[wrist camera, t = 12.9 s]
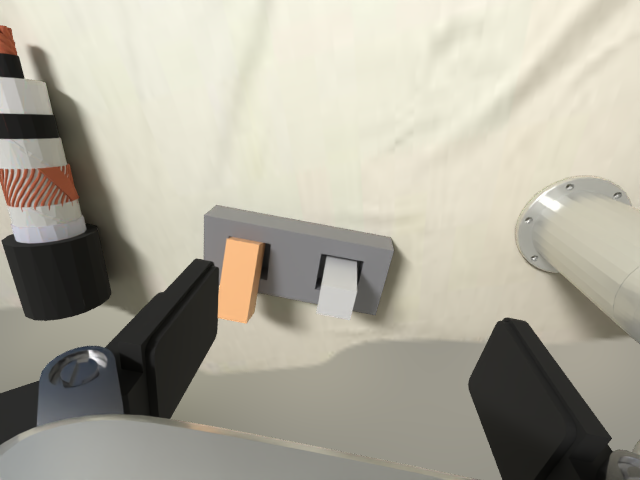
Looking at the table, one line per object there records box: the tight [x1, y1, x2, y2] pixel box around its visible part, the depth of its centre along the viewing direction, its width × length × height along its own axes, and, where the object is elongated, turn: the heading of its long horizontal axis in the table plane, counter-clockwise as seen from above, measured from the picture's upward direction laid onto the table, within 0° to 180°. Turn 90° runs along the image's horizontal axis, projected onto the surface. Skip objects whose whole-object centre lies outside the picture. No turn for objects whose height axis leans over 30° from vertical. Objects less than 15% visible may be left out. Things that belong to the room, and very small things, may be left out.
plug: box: [218, 237, 266, 323], centre depth 42 cm, size 4×4×10 cm
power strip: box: [204, 205, 394, 320], centre depth 42 cm, size 24×10×10 cm, turn 81°
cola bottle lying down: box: [0, 25, 111, 321], centre depth 41 cm, size 10×34×10 cm, turn 0°
